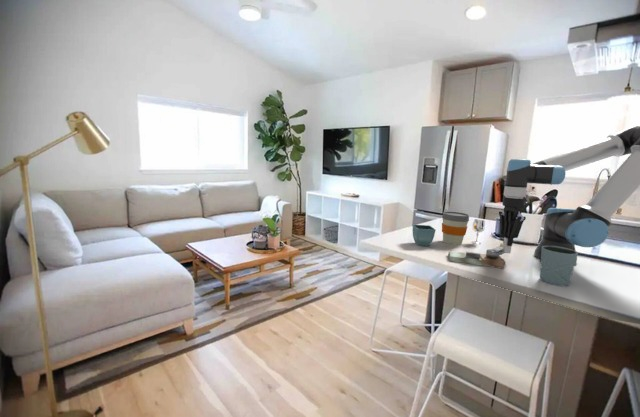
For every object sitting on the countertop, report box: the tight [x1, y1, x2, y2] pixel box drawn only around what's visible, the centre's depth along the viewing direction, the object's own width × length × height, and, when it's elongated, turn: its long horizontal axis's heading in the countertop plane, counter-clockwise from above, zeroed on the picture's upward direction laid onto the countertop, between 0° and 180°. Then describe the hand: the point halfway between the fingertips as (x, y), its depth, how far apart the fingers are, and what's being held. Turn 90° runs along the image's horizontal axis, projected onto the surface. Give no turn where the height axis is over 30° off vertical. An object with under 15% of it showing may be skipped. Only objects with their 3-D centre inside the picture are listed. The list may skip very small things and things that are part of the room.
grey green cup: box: [539, 246, 579, 287], centre depth 108 cm, size 10×10×12 cm
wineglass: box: [471, 219, 486, 245], centre depth 154 cm, size 6×6×12 cm
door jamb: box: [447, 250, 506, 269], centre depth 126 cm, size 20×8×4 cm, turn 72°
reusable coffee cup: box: [441, 211, 470, 246], centre depth 153 cm, size 13×13×15 cm
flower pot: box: [412, 224, 437, 247], centre depth 147 cm, size 9×9×9 cm
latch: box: [485, 242, 505, 258], centre depth 128 cm, size 17×4×3 cm, turn 130°
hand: (506, 252), depth 127 cm, fingers closed
